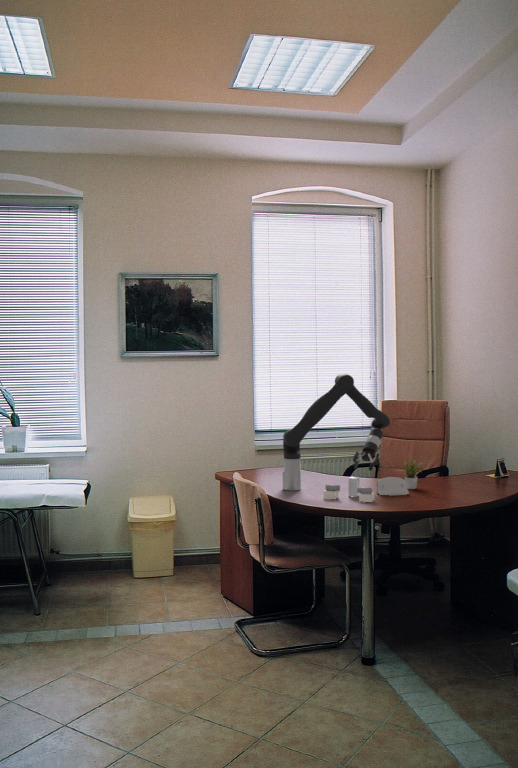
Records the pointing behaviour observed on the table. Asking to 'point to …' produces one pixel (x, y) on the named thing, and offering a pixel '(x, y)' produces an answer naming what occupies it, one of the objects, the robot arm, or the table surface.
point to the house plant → (411, 475)
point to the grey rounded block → (392, 486)
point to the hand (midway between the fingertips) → (362, 469)
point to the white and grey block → (365, 494)
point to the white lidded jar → (331, 491)
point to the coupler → (353, 486)
